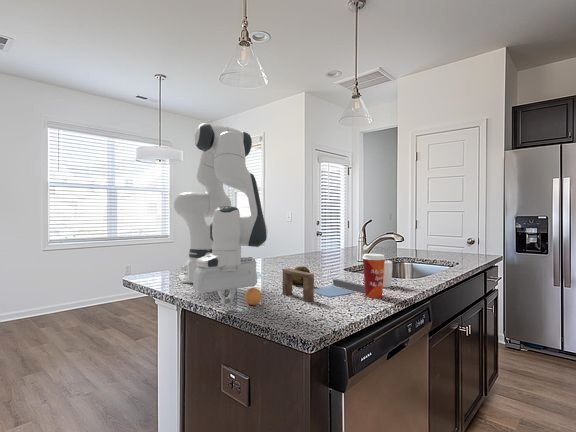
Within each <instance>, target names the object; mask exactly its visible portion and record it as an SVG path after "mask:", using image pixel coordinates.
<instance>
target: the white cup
mask: <svg viewBox="0 0 576 432" xmlns="http://www.w3.org/2000/svg"><path fill="white" fill-rule="evenodd" d="M393 264H394V263H393V261H390V260H385V262H384V278H383V288H391V287H392V278H393Z"/></svg>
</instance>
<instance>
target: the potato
mask: <svg viewBox="0 0 576 432" xmlns="http://www.w3.org/2000/svg"><path fill="white" fill-rule="evenodd" d="M293 269H294V270H299V271H303V272H308V273H311V271H310V270H309V268H308V267H307V266H296V267H294V268H293ZM293 283H294V284H298V285H303V277H299V276H295V275H292V284H293Z"/></svg>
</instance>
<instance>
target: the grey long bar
mask: <svg viewBox="0 0 576 432" xmlns="http://www.w3.org/2000/svg"><path fill="white" fill-rule="evenodd" d="M332 286H334V287H338V288H341V289H345V290H349V291H353V292H359V293H361V294H365V285H364V284H361V283H356V282H352V281H349V280H343V279H340V278H334V279H332Z"/></svg>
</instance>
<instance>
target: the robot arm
mask: <svg viewBox="0 0 576 432" xmlns="http://www.w3.org/2000/svg"><path fill="white" fill-rule="evenodd" d="M194 132H195V133H194V144H195V146H196V147H197V149H198V150H200V151H202V152H201V155H200V160H199V164H198V168H197V173H196V178H197V181H198V183H199V184H200V185H202V186H203V187H205V191H204V192H202V191H201V192H200V191H186V192H185V191H184V192H181V193H178V194H177V195H176V197H175V198H174V201H173V208H174V211H175V213H176V214H177V215H178V216H179V217H181V218H182V219H183V220H184V221H185V223H186V225H187V227H188V230H189V237H190V239H189V240H190V249H189V251H188V259H187V260H186V262H185V263H184V264H183V265H182V266H181V267H180V271H181V272H183V273H182V274H179V275H178V279H179V281H180V282H181V283H183V284H184V283H185V284H188V283H189V284H190V283H191V284H192V288H193V290H194V291H195V293H198V294H205V293H206V294H207V293H212V292H217V294H218V296H219V297H220V304H221V305H223V306H224V305H229V304H230V305H231V304H232V303H233V298H234V296H235V294H236V292H237V289H241V288H249V287H255V286H257V284H258V274H257V260H256V259H255V258H253V257H252V256H249V257H242V247H245V246H247V247H253V248H259V247H260V246H262V245H263V244H264V243H266V241H267V238H268V227H267V224H266V221H265V217H264V213H263V208H262V202H261V199H260V197H261V196H260V193H259V188H258V187H259V186H258V184H257V180H256V177H255V175H254V174H253V173H251V172H250V171H249V170H248V167H247V164H246V157H247V156H249V155H250V153H251V149H252V146H253V145H252V144H253V141H252V137H251V135H250V133H248V132H246V131H244V130H238V129H236V128H233V127H229V126H223V125H217V124H216V125H215V124H211V123H201V124H199V125H198V127H197V129H196V131H194ZM224 185H225V186H227V187H230V188H233V189H235V190H238V191H241V193H244V194H245V196H246V197H247V200H248V204H249V210H250V211H249V212H250V216H244V217H243V216H241V214H240V209H239V208H237V207H236V206H232V201H231V198H230V197H229V196H228V195H227V193H226V192H225V190H224ZM206 218H212V222H211V223H210V224H209V225H208V224H207V222H206ZM226 290H227V291H228V296H226V297H225V295H224V294H225V293H226Z"/></svg>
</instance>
